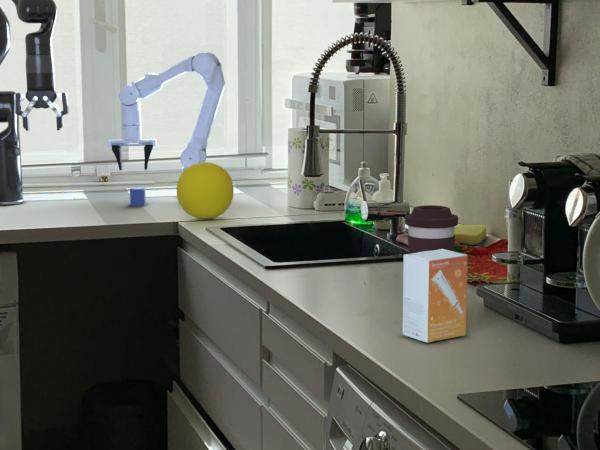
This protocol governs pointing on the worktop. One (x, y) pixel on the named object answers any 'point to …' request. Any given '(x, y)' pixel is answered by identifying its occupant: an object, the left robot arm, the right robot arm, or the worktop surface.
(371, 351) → the worktop surface
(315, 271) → the worktop surface
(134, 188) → the block
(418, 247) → the coffee cup
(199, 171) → the toy
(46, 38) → the left robot arm
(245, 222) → the worktop surface
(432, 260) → the small box
